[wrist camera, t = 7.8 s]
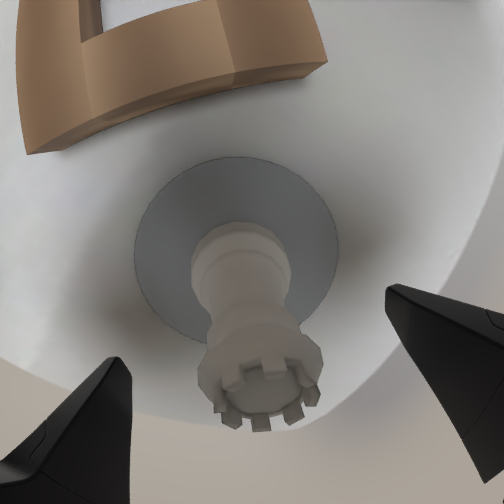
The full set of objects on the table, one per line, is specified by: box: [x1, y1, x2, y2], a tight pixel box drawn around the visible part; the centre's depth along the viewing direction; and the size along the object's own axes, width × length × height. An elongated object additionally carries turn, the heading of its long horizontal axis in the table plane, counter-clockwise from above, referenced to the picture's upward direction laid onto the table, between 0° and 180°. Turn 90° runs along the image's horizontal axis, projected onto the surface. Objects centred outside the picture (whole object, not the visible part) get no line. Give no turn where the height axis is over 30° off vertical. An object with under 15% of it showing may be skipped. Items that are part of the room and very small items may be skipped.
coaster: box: [134, 157, 338, 344], centre depth 13 cm, size 10×10×1 cm
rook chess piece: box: [191, 222, 323, 432], centre depth 9 cm, size 4×4×8 cm
